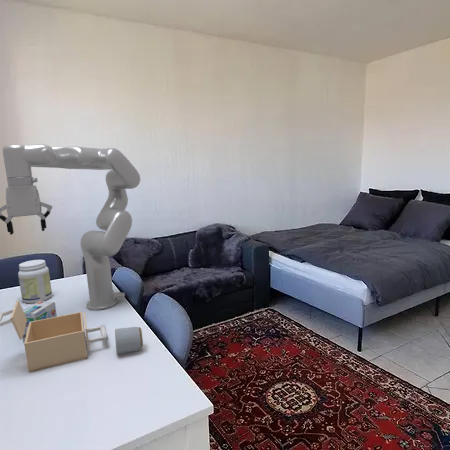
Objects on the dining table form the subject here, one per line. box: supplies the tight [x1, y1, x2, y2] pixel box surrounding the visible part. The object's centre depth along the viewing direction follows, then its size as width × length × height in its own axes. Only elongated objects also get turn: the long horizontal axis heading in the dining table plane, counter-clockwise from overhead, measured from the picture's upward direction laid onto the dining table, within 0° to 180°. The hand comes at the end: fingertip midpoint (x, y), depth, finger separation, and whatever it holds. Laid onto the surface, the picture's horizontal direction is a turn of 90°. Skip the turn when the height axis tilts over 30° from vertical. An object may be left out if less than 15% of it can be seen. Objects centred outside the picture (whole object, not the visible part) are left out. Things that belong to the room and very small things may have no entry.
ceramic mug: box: [114, 326, 144, 355], centre depth 115 cm, size 11×8×8 cm
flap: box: [0, 300, 27, 340], centre depth 107 cm, size 7×14×6 cm
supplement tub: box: [17, 259, 53, 304], centre depth 161 cm, size 12×12×17 cm
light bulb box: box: [22, 300, 58, 343], centre depth 126 cm, size 11×7×11 cm, turn 168°
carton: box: [23, 311, 109, 373], centre depth 115 cm, size 23×16×9 cm
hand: (27, 232), depth 125 cm, fingers open, 9 cm apart
